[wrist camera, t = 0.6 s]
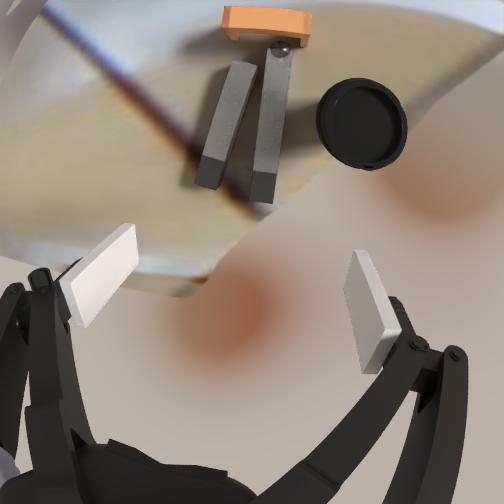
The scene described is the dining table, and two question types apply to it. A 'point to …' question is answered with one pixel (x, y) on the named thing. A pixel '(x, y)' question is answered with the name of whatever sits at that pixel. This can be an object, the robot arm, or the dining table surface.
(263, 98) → the tongs fixed
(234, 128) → the tong arm
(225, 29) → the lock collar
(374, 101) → the coffee cup
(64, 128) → the dining table surface
